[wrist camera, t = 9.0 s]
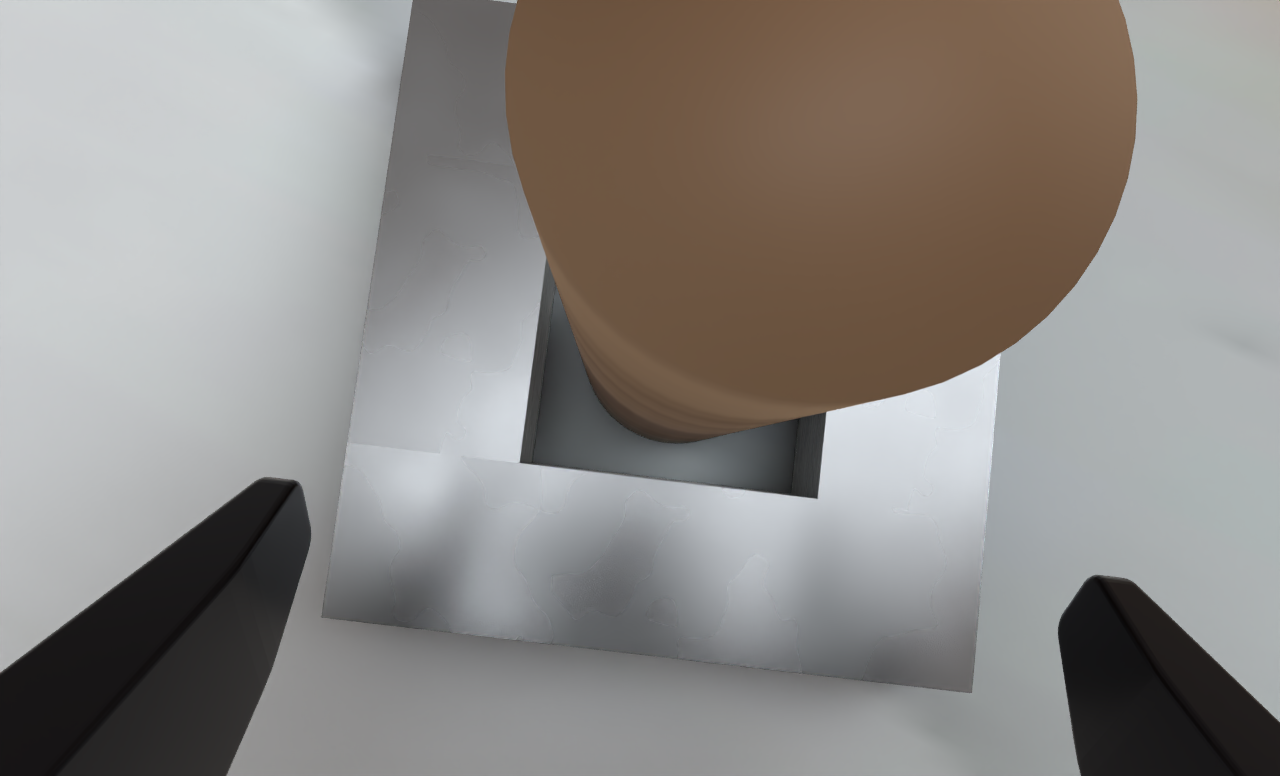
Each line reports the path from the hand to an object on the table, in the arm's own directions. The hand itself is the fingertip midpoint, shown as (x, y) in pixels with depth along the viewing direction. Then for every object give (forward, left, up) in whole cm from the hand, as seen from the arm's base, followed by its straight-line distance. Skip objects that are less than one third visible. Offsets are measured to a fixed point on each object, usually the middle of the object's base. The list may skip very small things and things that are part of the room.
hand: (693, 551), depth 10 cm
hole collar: (+3, 0, -9) cm, 9 cm away
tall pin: (+3, 0, -9) cm, 9 cm away
